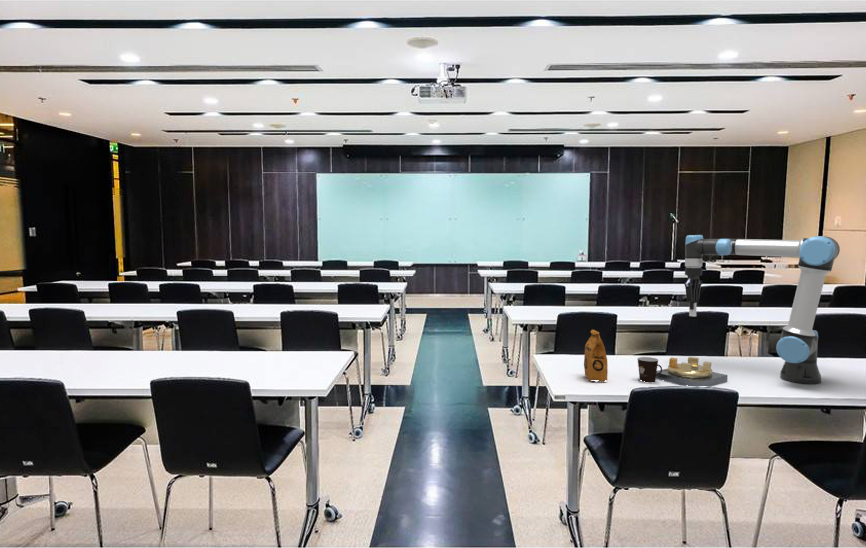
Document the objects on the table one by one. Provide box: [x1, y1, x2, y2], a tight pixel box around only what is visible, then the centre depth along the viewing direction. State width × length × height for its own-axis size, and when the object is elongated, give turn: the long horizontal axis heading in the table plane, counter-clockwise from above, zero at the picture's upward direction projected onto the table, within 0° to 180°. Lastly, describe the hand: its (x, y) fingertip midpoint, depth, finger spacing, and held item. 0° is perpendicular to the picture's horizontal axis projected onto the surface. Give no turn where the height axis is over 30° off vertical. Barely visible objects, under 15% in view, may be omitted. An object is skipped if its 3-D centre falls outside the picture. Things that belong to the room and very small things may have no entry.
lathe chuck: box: [667, 356, 713, 378], centre depth 241 cm, size 18×18×6 cm
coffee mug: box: [637, 356, 663, 383], centre depth 239 cm, size 12×9×10 cm
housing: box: [655, 367, 729, 387], centre depth 242 cm, size 22×22×3 cm
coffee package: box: [583, 329, 609, 381], centre depth 244 cm, size 10×12×22 cm
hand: (692, 316), depth 259 cm, fingers closed
